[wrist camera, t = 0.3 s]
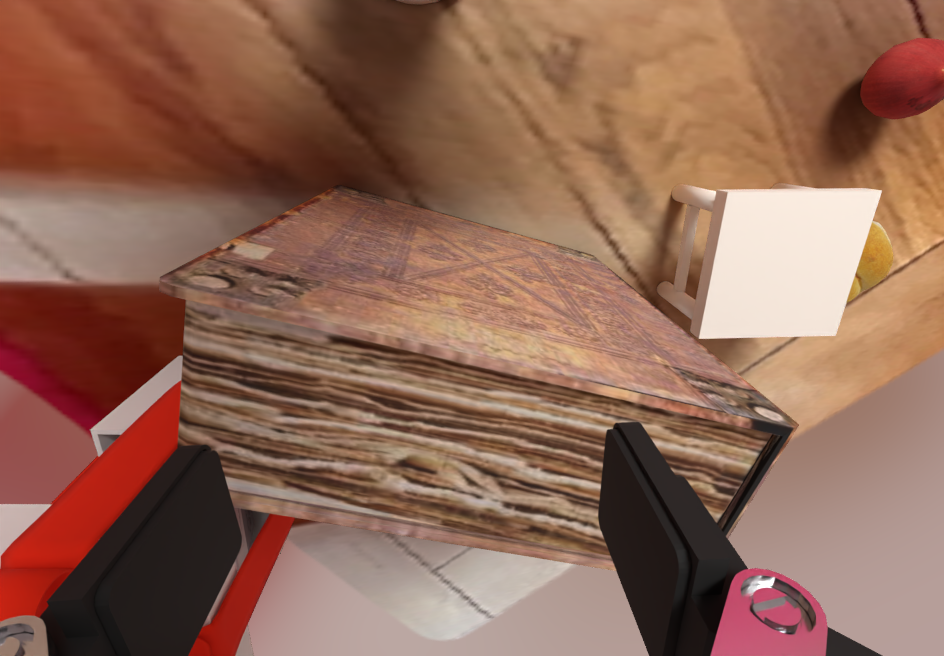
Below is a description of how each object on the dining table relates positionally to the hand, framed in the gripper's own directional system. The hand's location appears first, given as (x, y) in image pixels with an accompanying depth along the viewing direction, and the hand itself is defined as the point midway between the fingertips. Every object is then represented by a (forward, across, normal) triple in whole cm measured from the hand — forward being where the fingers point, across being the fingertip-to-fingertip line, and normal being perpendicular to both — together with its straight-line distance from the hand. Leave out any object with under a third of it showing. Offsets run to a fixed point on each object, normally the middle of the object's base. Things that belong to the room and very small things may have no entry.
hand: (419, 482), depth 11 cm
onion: (+36, -39, -11) cm, 54 cm away
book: (+36, -2, +4) cm, 37 cm away
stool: (+36, -28, +3) cm, 46 cm away
